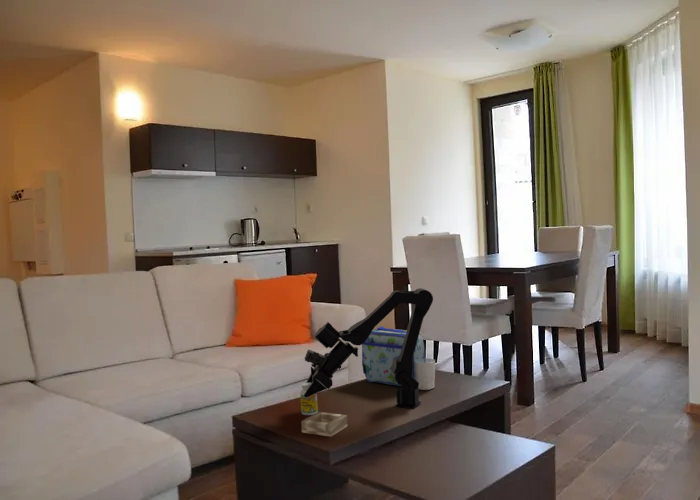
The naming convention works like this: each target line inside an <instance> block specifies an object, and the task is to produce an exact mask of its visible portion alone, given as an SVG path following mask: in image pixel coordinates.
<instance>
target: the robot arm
mask: <svg viewBox="0 0 700 500" xmlns="http://www.w3.org/2000/svg"><path fill="white" fill-rule="evenodd" d="M433 302H434V296H433V294H432V292H431V291H429V290H427V289H426V288H420V287H419V288H417V289H415V290H393V291H392V292H391V293H390V294H389V295H388V297H386V298H385V299H383V301H382V302H381V303H380V304H378V305H377V307H376V308H374V309H373V311H372V312H370V313H369V314H368V315H367V316H366V317H365V318H363V319H361V320H360V321H357V322H356V323H355V324H353V325H351V326H350V327H349V328H348V329H344V330H340V331H338V330H337V329H336V328H335V327H334V326H333V325H332V324H331V323H330V322H329V321H327V322H326V323H325V324H324V325H322V327H319V329H318V330H317V331H316V332H315V334H314V335H313V338H314V339H315V340H317V341H318V342H319V344H321V345H322V346H323V347H324V348H325V349H328V348H330V349H331V350H330V351H329V352H325V353H324V354H321V353H319V352H316V351H315V350H311V349H307V351H306V354H305V356H304V361H305V362H307V363H311V366H310V375H309V377H308V378H307V380H306V382H305V383H311V385H310V386H309V388H308V389H307V391H306V392H305V394H304V396H305V397H306V398H307V397H309V396H311V395H313V394H316V393H317V394H318V393H320V392H322V391H324V390H325V391H326V390H330V389H331V388H332V386H333V377H334V374H335V373H336V372H337V370H340V369H342V365H343V364H344V363H345V362H346V361H347V360H348V359H349V357H350V356H351V355H352V354H353V356H355V357H357V358H358V356H359V352H358V351H359V348H358V346H362V344H363V343H364V342H365V341H366V339H367V338H368V337H369V335H370V334H371V332H372V330H375V327H376V326H378V324H380V323H381V322H382V321H383V320H384V319H385V318H386V317H387V316H389V314H390V313H391V312H392V311H393V310H394V309H395V308H397V307H398V306H399V304H405V305H406V304H408V305H409V304H410V311H411V313H410V317H409V320H408V324H407V327H406V330H407V331H406V335H405V339H404V342H403V346H402V350H401V353H400V355H399V357H398V358H397V359H396V358H393V362H392V366H391V367H390V370H391V375H392V377H393V378H394V379H395V381H396V382H397V383H398V384H399V385H400V386H397V387H396V388H397V390H396V392H395V393H396V396H395V397H396V403H397V404H396V405H395V407H399V408H406V409H416V408H417V407H418V406H419V405H421V404H420V403H421V401H420V399H419V397H420V396H419V389H418V386H419V383H418V382H417V381H416V380H415V379H414V378H413V377H412V371H413V355H414V351H415V347H416V344H417V340H418V336H419V335H420V332H421V328H422V324H423V321H424V318H425V317H426V315H427V313H428V312H429V311H430V308H431V306H432V305H433ZM354 346H356V347H354Z"/></svg>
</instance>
